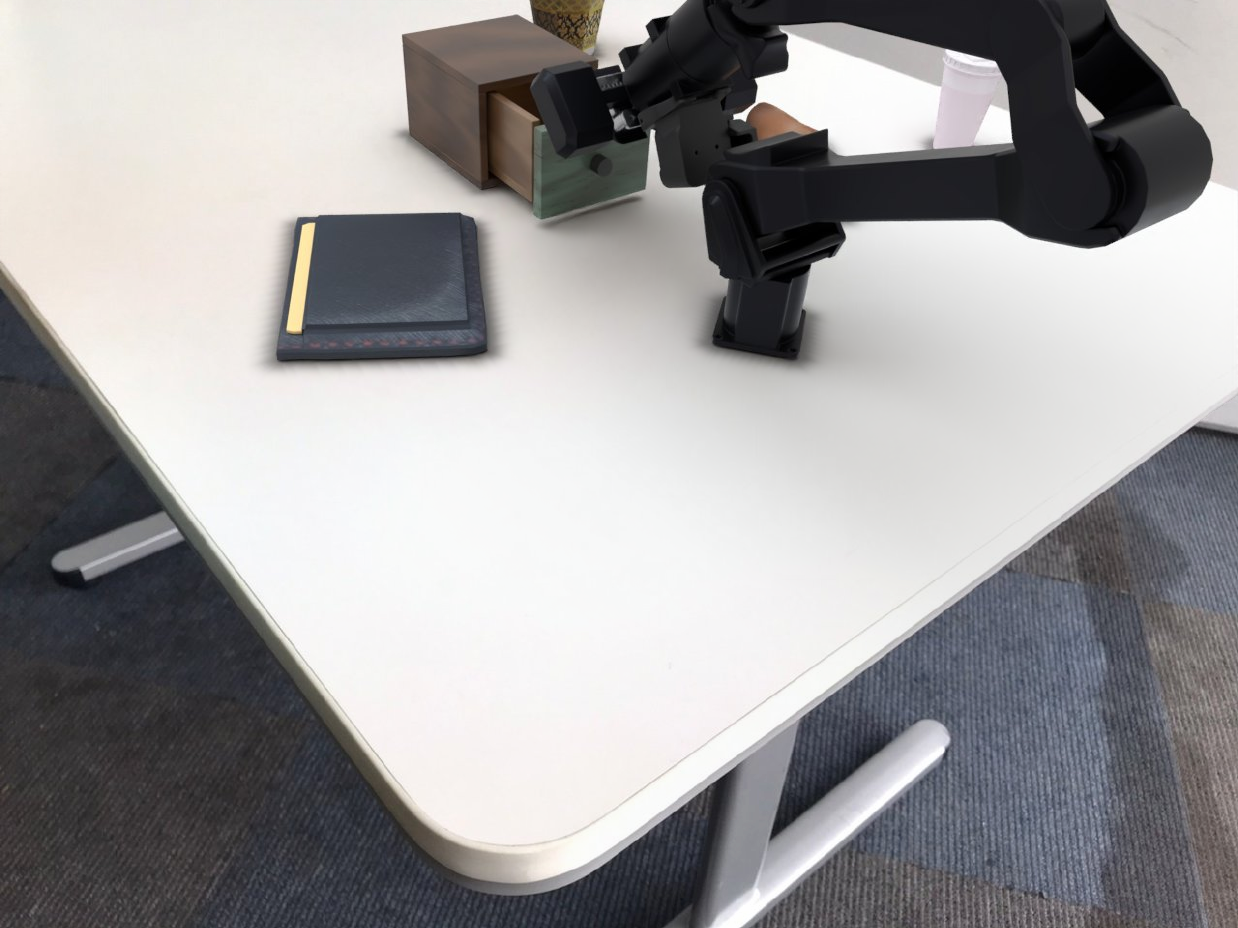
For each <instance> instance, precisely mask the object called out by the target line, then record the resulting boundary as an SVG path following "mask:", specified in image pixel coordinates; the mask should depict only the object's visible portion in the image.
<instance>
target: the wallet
mask: <svg viewBox="0 0 1238 928" xmlns="http://www.w3.org/2000/svg"><path fill="white" fill-rule="evenodd" d="M293 230H294V231H293V241H292V242H293V243H292V250H291V257H290V262H289V263H290V264H289V268H288V269H289V270H288V275H287V283H286V287H285V288H286V289H285V294H284V295H285V296H284V301H283V307H282V313H281V319H280V326H279V332H278V339H277V344H276V350H275V355H276V360H277V361H282V360H283V361H286V360H350V359H352V360H353V359H385V358H388V359H389V358H420V357H421V358H422V357H449V356H469V355H476V354H479V353H482V352H486V351H488V333H487V331H488V328H487V319H486V311H485V310H486V309H485V303H484V295H483V288H482V281H481V272H480V259H479V247H478V227H477V224H476V221H475V218H474V217H472V216H470V215H465V214H464V213H462V212H459V211H458V212H410V213H409V212H407V213H406V212H405V213H363V214H362V213H361V214H360V213H359V214H358V213H357V214H355V213H353V214H319V215H318V216H298V217H297V219H296V223H295V227H294V229H293Z"/></svg>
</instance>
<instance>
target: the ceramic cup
mask: <svg viewBox="0 0 1238 928" xmlns="http://www.w3.org/2000/svg"><path fill="white" fill-rule="evenodd" d="M605 1H606V0H529V4H530V10H531V17H532V23H534V24H535V25H537V26H539V27H541V28H542V29H544V30H546V31H548V32H550V33H551V34H553V35H555V36H557V37H559V38H560V39H562V40H564V41H566V42H568V43H569V44H571V45H573V46H575V47H576V48H578V49H580V50H582V51H584V52H585V53H587V54H589V55H591V56H593V54H594V53H595V47H596V44H597V38H598V33H599V30H600V25H601V19H602V16H603V15H602V14H603V9H604V5H605Z"/></svg>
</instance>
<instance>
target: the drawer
mask: <svg viewBox="0 0 1238 928" xmlns="http://www.w3.org/2000/svg"><path fill="white" fill-rule="evenodd" d="M531 84H532V82H531V83H526V84H522V85H517V86H512V87H508V88H503V89H498V90H493V91H489V92H486V109H487V148H488V170H489V171H490V172H491V173H493V174H494V175H495V176H497V177H498V178H499V179H501V180H502V181H503V182H505V184H506V185H507V186H509V187H510V188H511V189H512V190H514V191H516V192H517V193H518V194H519V195H521V196H522V197H523V198H524V199H526V200H527V201H529V202H530V203H533V215H534V216H535V217H536V218H538V219H539V220H540V221H542V220H546V219H548V218H552V217H556V216H560V215H562V214H566V213H570V212H573V211H577V210H580V209H584V208H587V207H590V206H593V205H597V204H600V203H604V202H607V201H611V200H614V199H617V198H621V197H624V196H627V195H631V194H635V193H638V192H642V191H645V190H646V189H647V177H648V168H649V167H648V166H649V155H650V142H651V132H652V130H648V131H646V134H647V136H648V138H646V139H642V140H639V141H635V142H631V143H627V144H619V143H617V142H616V141H614V140H613V141H612V142H611V143H609V144H608V145H607V146H605V147H603V148H601V149H599V150H597V151H595V152H592V153H588V154H585V155H581V156H577V157H573V158H570V159H564V158H562V157H561V156H559V155H557V154H556V152H555V149H554V147H553V144H552V142H551V139H550V137H549V134H548V132H547V130H546V127H545V125H544V122H543V120H542V117H541V115H540V112H539V110H538V107H537V105H536V102H535V100H534V98H533V95H532V93H531V90H530V87H531Z"/></svg>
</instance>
